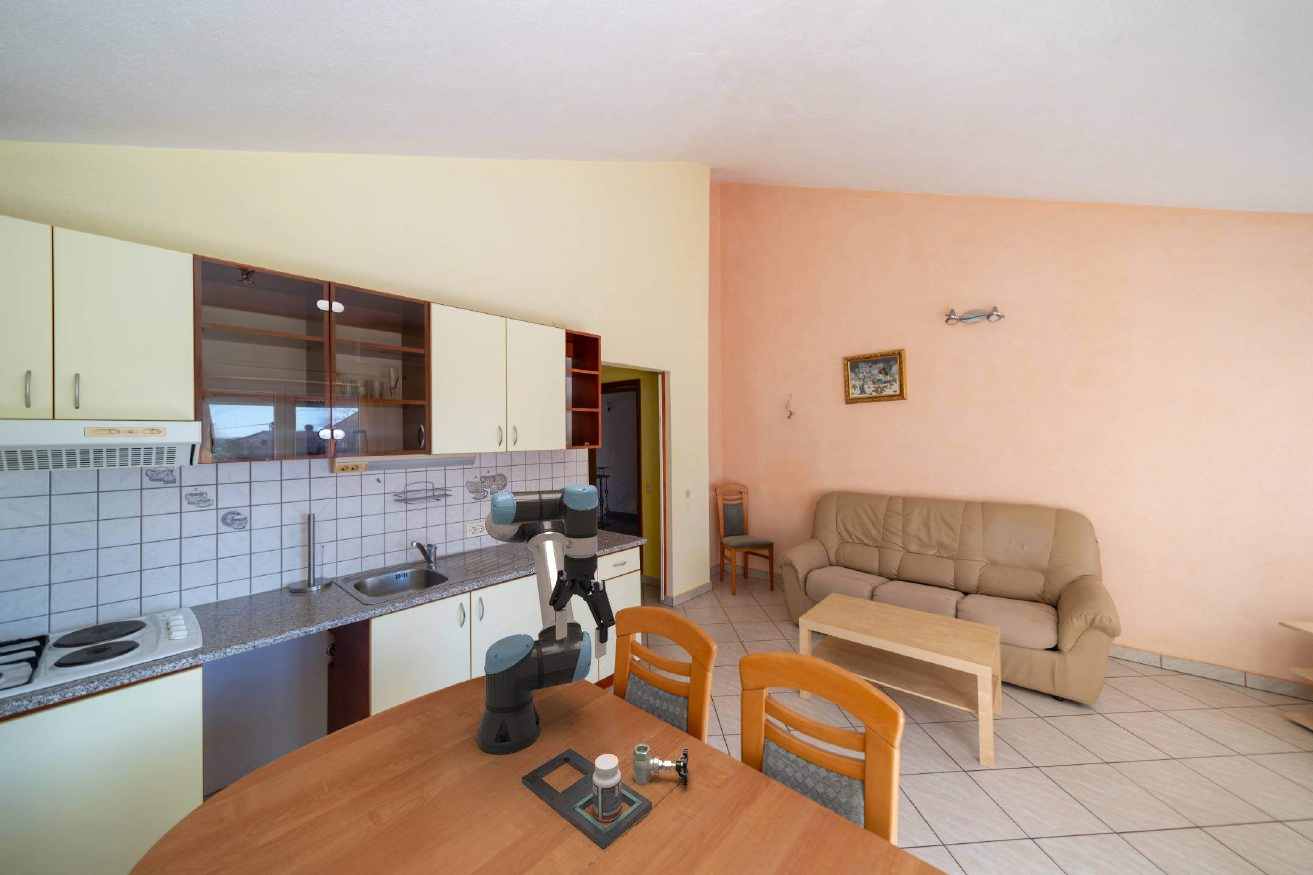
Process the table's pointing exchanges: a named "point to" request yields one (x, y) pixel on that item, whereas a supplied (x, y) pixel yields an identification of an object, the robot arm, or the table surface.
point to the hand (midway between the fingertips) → (580, 646)
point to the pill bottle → (607, 788)
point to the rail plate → (584, 799)
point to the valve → (656, 764)
